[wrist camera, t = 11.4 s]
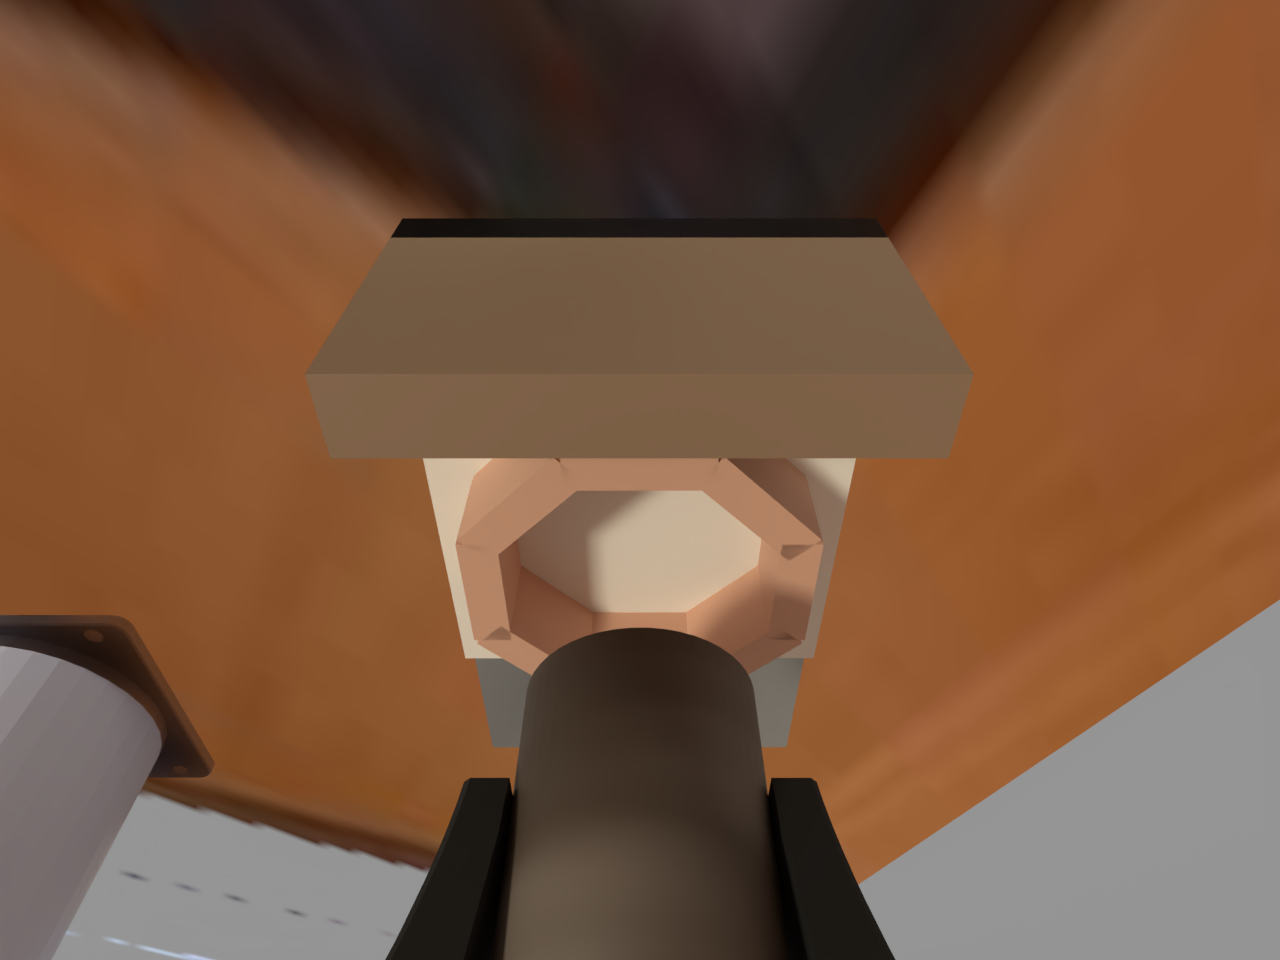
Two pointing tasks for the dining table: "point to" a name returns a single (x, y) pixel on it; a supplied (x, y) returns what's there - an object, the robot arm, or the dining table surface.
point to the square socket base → (639, 550)
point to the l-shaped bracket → (639, 360)
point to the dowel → (640, 809)
